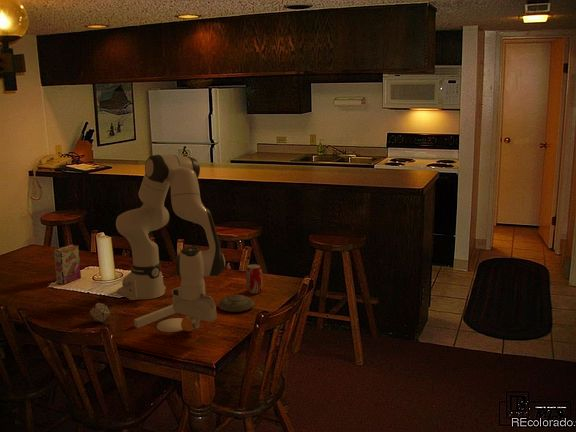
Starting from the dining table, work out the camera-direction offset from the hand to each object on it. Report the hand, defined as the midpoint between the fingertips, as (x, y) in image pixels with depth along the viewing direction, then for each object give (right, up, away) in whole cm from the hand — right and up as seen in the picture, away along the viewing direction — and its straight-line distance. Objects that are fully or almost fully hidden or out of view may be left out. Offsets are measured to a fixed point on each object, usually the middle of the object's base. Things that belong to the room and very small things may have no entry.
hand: (195, 327), depth 217 cm
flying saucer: (+13, +3, +26) cm, 29 cm away
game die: (-39, 0, +13) cm, 41 cm away
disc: (-10, -1, +8) cm, 13 cm away
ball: (-3, +1, +2) cm, 4 cm away
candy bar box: (-70, +10, +61) cm, 93 cm away
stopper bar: (-18, +1, +14) cm, 23 cm away
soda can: (+19, +7, +43) cm, 48 cm away
